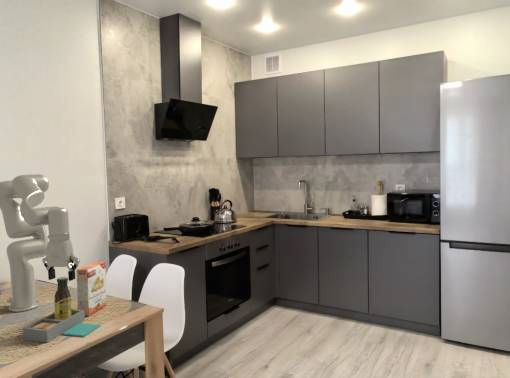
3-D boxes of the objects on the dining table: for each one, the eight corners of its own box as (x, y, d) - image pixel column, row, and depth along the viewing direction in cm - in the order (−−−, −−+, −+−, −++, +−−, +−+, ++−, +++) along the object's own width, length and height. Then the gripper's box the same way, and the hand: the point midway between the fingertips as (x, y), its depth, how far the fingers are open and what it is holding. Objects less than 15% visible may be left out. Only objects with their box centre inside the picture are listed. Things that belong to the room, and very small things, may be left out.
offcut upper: (32, 333, 151) (32, 327, 151) (42, 327, 156) (42, 322, 156) (48, 334, 149) (48, 329, 149) (58, 329, 154) (57, 323, 154)
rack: (23, 339, 149) (22, 328, 149) (62, 318, 170) (62, 308, 169) (47, 342, 147) (46, 330, 146) (84, 320, 167) (84, 310, 167)
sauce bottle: (60, 329, 158) (58, 281, 157) (51, 326, 161) (49, 279, 160) (75, 323, 164) (73, 277, 162) (66, 320, 167) (64, 275, 166)
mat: (62, 334, 153) (62, 333, 153) (79, 324, 163) (79, 323, 163) (84, 337, 151) (84, 335, 151) (100, 326, 161) (100, 325, 161)
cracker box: (89, 316, 171) (87, 269, 170) (77, 315, 172) (75, 269, 171) (107, 305, 185) (106, 261, 184) (96, 304, 186) (94, 261, 185)
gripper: (34, 239, 159) (37, 281, 159) (71, 240, 154) (73, 282, 155) (48, 236, 166) (51, 276, 167) (83, 236, 162) (86, 277, 162)
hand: (62, 279), depth 161 cm, fingers open, 9 cm apart
